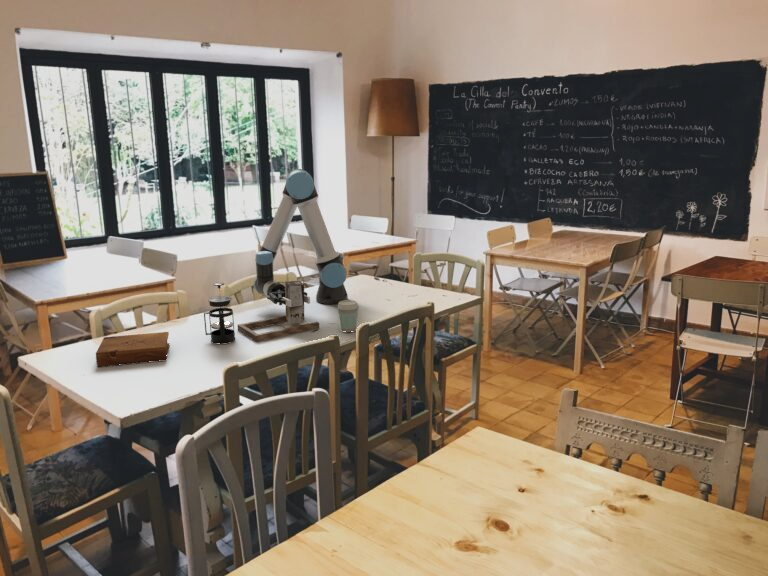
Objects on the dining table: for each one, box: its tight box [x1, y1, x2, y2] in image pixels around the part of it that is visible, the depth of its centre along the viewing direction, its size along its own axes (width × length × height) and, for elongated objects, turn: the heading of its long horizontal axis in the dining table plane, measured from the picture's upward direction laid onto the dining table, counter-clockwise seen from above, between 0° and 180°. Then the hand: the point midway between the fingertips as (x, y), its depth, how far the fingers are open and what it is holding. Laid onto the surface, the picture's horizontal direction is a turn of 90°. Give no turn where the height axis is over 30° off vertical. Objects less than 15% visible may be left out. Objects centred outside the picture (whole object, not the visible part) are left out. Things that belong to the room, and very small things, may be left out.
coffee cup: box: [336, 299, 359, 332], centre depth 257 cm, size 9×8×12 cm
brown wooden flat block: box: [95, 331, 170, 368], centre depth 233 cm, size 23×19×6 cm
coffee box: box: [284, 280, 305, 324], centre depth 263 cm, size 9×6×16 cm
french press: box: [203, 282, 236, 345], centre depth 246 cm, size 12×9×23 cm
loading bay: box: [237, 314, 320, 342], centre depth 261 cm, size 28×18×2 cm, turn 125°
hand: (299, 302), depth 259 cm, fingers closed on coffee box, 8 cm apart
